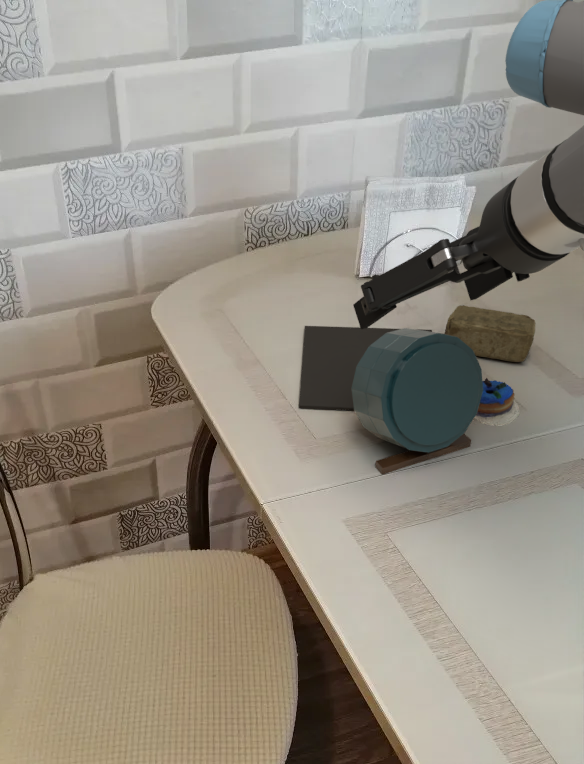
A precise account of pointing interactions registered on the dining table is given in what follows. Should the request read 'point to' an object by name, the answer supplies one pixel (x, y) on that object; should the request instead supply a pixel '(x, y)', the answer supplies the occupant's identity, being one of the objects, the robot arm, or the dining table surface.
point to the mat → (333, 364)
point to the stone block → (493, 332)
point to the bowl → (417, 389)
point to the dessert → (497, 404)
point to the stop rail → (419, 456)
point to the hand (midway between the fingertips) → (415, 302)
